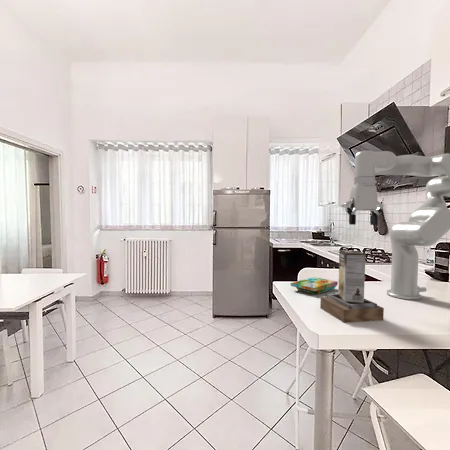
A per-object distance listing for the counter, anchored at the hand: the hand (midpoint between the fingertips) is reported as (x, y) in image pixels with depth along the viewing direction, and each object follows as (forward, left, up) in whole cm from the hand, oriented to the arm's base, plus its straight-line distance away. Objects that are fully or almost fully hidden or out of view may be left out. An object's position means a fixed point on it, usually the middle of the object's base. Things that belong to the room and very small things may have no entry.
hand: (363, 224), depth 112 cm
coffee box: (+16, +16, -25) cm, 34 cm away
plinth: (+16, +16, -30) cm, 38 cm away
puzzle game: (+12, -16, -31) cm, 37 cm away
